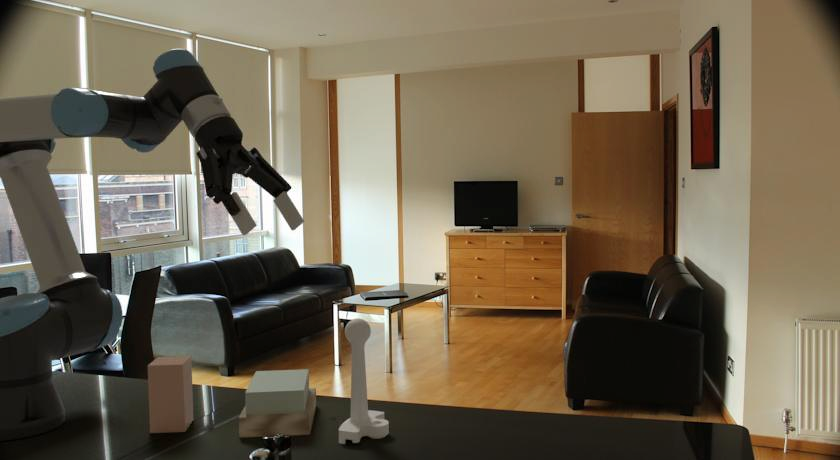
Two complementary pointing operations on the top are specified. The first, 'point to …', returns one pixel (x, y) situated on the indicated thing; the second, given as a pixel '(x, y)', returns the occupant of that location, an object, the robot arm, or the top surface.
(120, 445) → the top surface
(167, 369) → the terracotta column
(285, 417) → the tower base
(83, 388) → the top surface
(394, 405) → the top surface
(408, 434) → the top surface
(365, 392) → the joystick
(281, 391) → the tower top
